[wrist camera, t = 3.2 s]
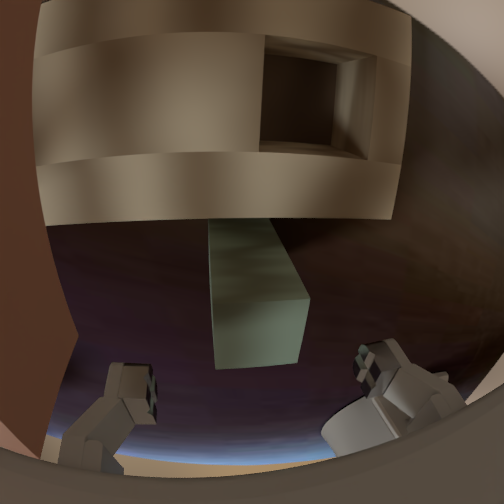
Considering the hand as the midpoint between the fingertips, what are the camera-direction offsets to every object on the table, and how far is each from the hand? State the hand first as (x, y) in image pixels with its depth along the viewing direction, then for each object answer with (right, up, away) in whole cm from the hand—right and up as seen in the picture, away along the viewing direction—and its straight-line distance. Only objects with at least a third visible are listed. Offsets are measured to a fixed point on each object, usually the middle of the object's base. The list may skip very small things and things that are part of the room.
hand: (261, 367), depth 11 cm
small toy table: (-14, +15, +4) cm, 21 cm away
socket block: (-3, +14, +6) cm, 16 cm away
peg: (-1, +5, +11) cm, 12 cm away
